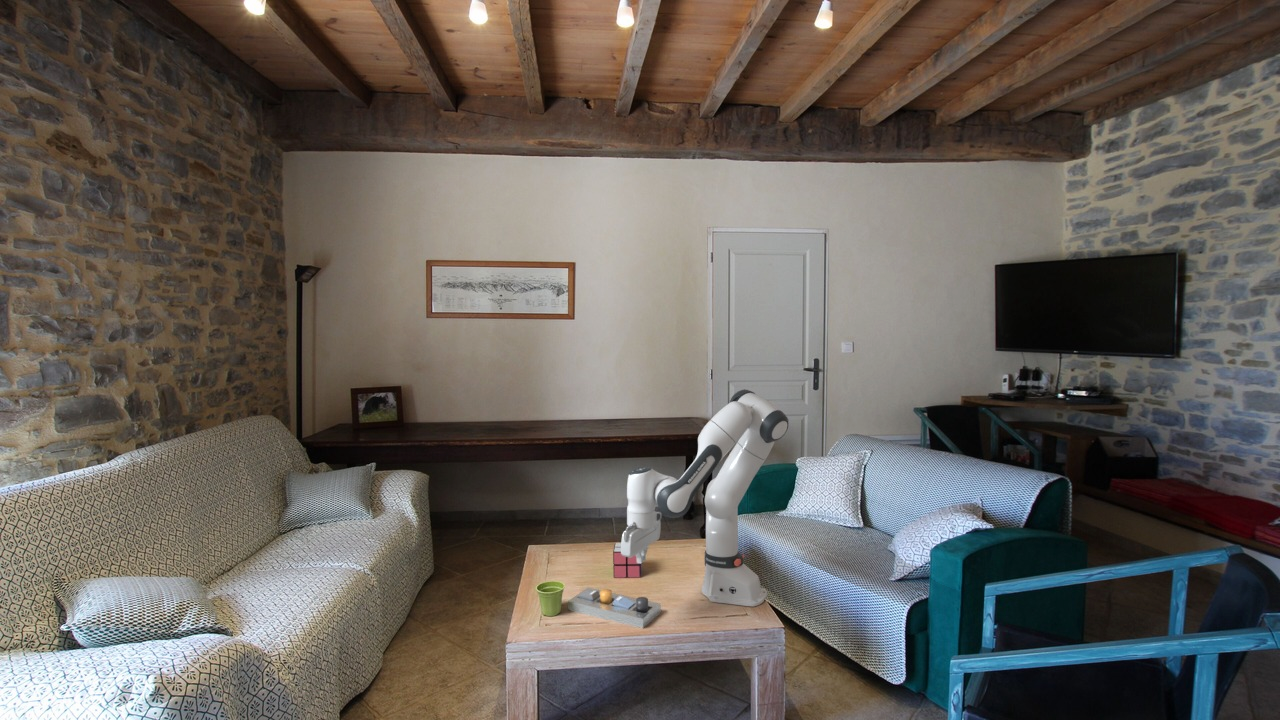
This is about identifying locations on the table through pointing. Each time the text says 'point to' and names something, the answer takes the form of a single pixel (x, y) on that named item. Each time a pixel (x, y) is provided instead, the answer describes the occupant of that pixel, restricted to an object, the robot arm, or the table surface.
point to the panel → (614, 610)
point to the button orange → (606, 596)
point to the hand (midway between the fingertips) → (641, 561)
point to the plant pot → (550, 597)
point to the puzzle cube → (625, 564)
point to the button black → (642, 604)
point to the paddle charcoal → (589, 595)
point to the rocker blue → (623, 603)
